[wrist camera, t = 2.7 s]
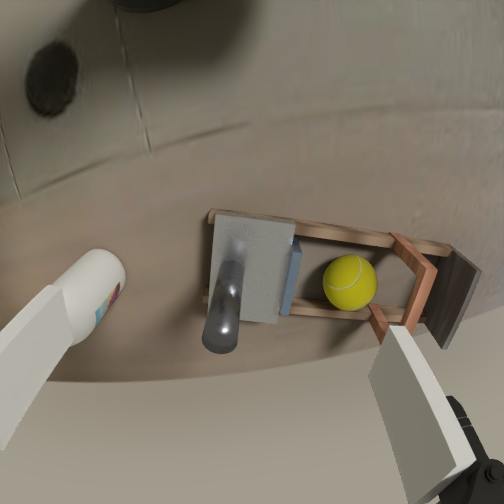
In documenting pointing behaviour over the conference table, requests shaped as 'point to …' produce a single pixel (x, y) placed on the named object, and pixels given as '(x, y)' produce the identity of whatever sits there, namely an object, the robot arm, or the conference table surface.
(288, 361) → the conference table surface
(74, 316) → the milk bottle
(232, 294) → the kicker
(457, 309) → the lane
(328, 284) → the tennis ball
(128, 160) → the conference table surface
